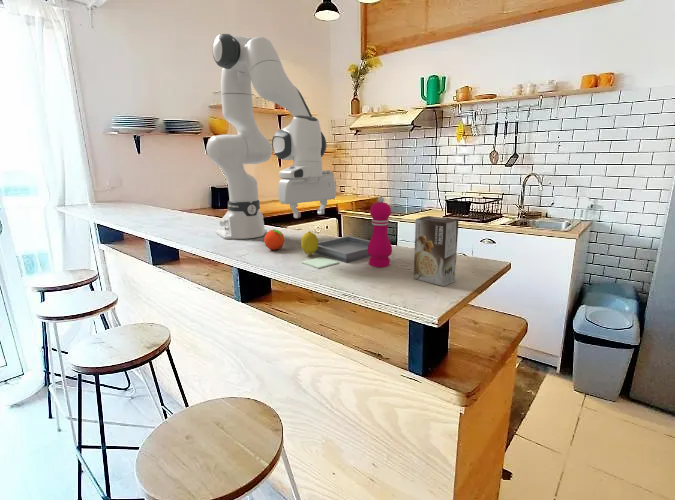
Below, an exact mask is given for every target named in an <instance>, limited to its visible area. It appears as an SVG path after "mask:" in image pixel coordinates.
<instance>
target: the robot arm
mask: <svg viewBox="0 0 675 500" xmlns="http://www.w3.org/2000/svg"><path fill="white" fill-rule="evenodd" d="M212 57H213V60H214V62H215V64H216V65H217V66H218V67H221V68H222V69H221V76H220V96H221V97H220V98H221V110H222V111H221V112H222V117H223V118H224V120H225V121H226V122H227V123H229V124H230V125H232V126H233V127H234V129H235V130H236V132H237V133H236V134H217V135H214V136H211V137H209V139H208V141H207V144H206V148H205V149H206V154H207V156H208V158H209V160H210V161H211V162H212V163H214V164H215V165H216V166H217V167H218V168H219V169H220V170H221V172H222V173H223V175H224V177H225V180H226V182H227V190H228V197H229V200H228V201H227V211H226V213H225V214H224V216H222V218H221V220H220V221H219V226H220V227H221V229H220V228H219V229H216V232H215V234H217V235H219V236H220V237H221V238H222V239H225V240H230V239H234V240H237V239H238V240H241V239H247V240H248V239H254V238H255V239H256V238H260V237H263V236H265V235H266V233H267V232H268V229H265V221H264V215H263V213H262V212H261V210H260V209H261V203H260V199H259V192H258V182H257V181H258V180H257V179H256V178H255V177H254V176H252V175H251V174H249V173H247V172H246V169H245V167H244V165H258V164H262V163H265V162H267V161H269V160H270V158H271V156H272V152H273V153H274V155H275V157H276V158H278V159H280V160H284V161H292V163H293V164H292V165H290V166H288V167H286V168H284V169H281V170H280V171H279V173H278V174H279V175H278V177H279V178H280V180H279V182H278V191H277V194H278V196H277V197H278V200H279V202H280V203H281V205H289V207H290V209H291V211H292V212H293V218H294V219H299V218H301V217H302V215H301V214H302V213H301V211H299V210H298V206H299V205H298V204H302V203H312V202H319V204H320V206H319V207H318V208H317V215H325V209H326V207H327V205H328V201H330V200H335V199H336V197H337V188H336V181H335V174H334V172H332V171H331V170H329V169H327V170H323V158H322V157H323V156H324V155H325V152H326V150H327V147H328V146H327V145H328V144H327V140H326V136H325V135H324V133H323V132H322V129H321V123H320V121H319V119H318V118H316V117H314V116H312V115H313V114H312V113H311V111H310V109H309V107H308V105H307V103H306V100H305V98H304V97H303V94H302V93H301V91H300V90H299V89H298V88H297V87H296V86H295V84H294V83H293V82H292V81H291V80H290V78H289V76H287V75H288V74H286V72H285V70H284V68H283V64H282V62H281V58H280V57H279V55H278V52H277V50H276V48H275V46H274V45H273V43H272V42H271V40H270V39H268V38H267V37H264V36H256V37H255V36H254V37H250V36H242V35H234V34H230V33H220V34H218V35H217V36H216V37H215V38H214V40H213V43H212ZM252 86H253V88H254V89H255V91H256V93H257V94H258V96H260V97H261V98H262V99H264V100H266V101H269V102H271V103H274V104H276V105H278V106H280V107H282V108H284V109H285V110H287V111H288V112H289V113H290V115H291V116H292V119H291V122H290V123H289V124H288V125H286V126H285V127H283V128H282V129H278V130H277V131H275V133H274V134H273V137H272V140H271V142H270V140H269V139H268V138H266V136H265V135H264V134H262V132H261V130H260V129H259V127H258V125H257V123H256V119H255V115H254V107H253V93H252V92H253V91H252Z"/></svg>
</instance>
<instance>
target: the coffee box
mask: <svg viewBox="0 0 675 500" xmlns="http://www.w3.org/2000/svg"><path fill="white" fill-rule="evenodd" d="M459 222H460V221H459V219H455V218H448V217H442V216H441V217H439V216H438V217H437V216H430V215H427V216H421V217H418V218H416V219H415V224H414V225H415V230H414V233H415V234H414V259H413V279H414V280H418V281H422V282H426V283H430V284H434V285H437V286H441V287H445V286H448V285H449V284H451V283H453V282H455V281H456V266H457V265H456V264H457V252H458V251H457V250H458V234H459Z"/></svg>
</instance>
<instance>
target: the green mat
mask: <svg viewBox="0 0 675 500" xmlns="http://www.w3.org/2000/svg"><path fill="white" fill-rule="evenodd" d="M339 263H340V261H339V260H335V259H332V258H329V257H326V256H320V257H315V258H312V259H307V260H303V261H301V264H303V265H307V266H310V267H313V268H316V269H323V268H326V267H330V266H335V265H338V264H339Z"/></svg>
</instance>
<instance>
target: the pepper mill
mask: <svg viewBox="0 0 675 500" xmlns="http://www.w3.org/2000/svg"><path fill="white" fill-rule="evenodd" d="M384 201H385V199H384V197H382V196H379V197H378V198H377V202H375V203H373V204H372V205H371V206H370V209H369V210H370V211H369V214H370V216H371V225H372V235H371V237H370V240H369V241H370V242H369V244H368V250H367V252H368V254H369V255H370V256H369V258H368V265H369V266H371V267H373V268H385V267H389V266H390V265H391V258H390V256H391V254H392V252H393V247H392V242H391V241H390V237H389V234H388V226H389V224H390V223H389V221H390V219H389V218H390V216H392V209H391V206H390V205H389V204H388V203H386V202H384Z"/></svg>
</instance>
